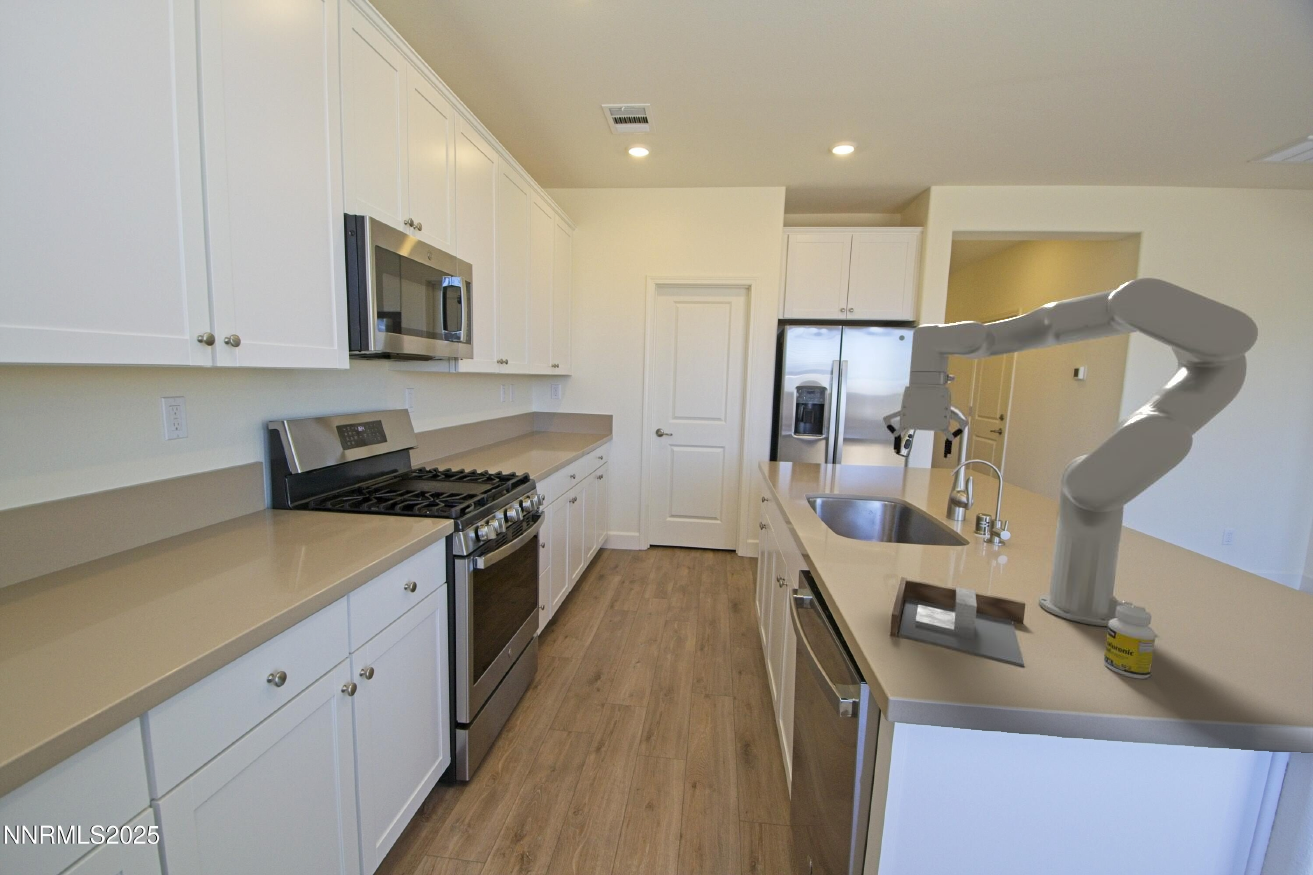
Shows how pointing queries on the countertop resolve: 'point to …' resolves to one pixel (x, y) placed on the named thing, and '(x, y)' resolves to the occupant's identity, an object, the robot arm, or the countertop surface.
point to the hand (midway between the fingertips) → (921, 455)
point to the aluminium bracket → (951, 616)
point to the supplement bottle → (1130, 643)
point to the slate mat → (989, 638)
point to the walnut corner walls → (953, 601)
